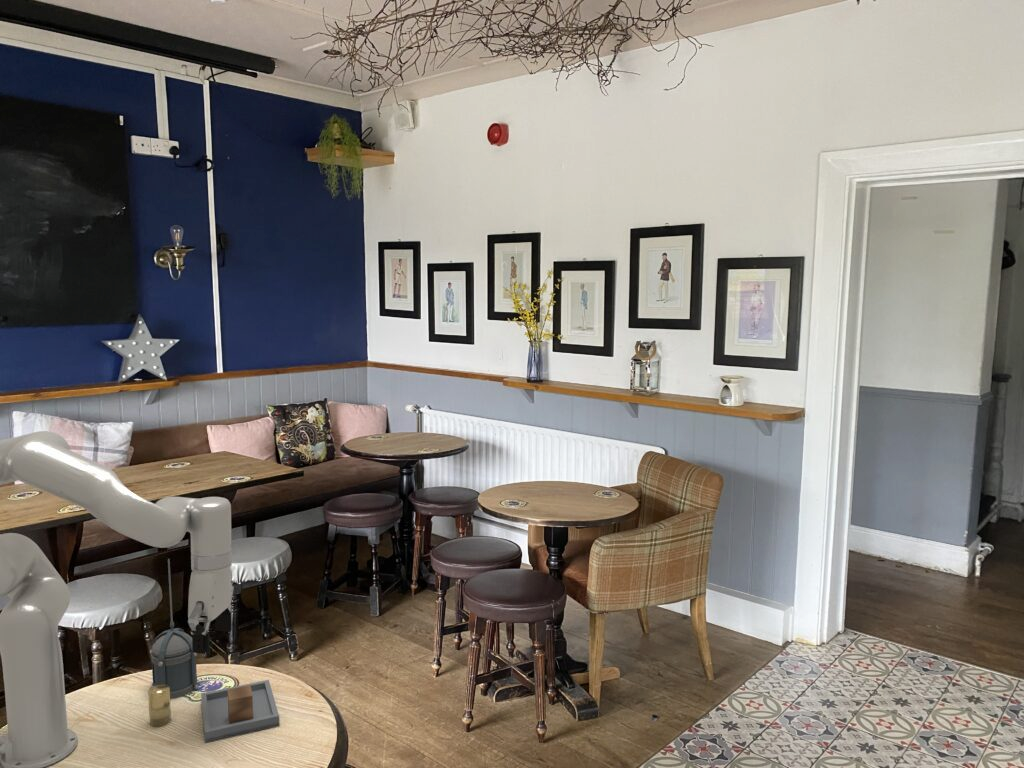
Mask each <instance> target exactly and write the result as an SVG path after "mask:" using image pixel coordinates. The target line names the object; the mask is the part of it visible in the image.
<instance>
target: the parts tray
mask: <svg viewBox="0 0 1024 768" xmlns="http://www.w3.org/2000/svg"><path fill="white" fill-rule="evenodd" d="M249 685H251V691H252V696H253V719H251V720H246V721H242V722H237V723H233V724H229V716H228V692H227V690H228V689H233V688H238V687H243V686H249ZM273 693H274V692H273V691H272V686H271V683H270V680H269V679H265V680H261V681H256V682H250V683H246V684H240V685H236V686H231V687H227V688H221V689H217V690H212V691H207V692H202V693H200V701H201V702H200V703H201V704H200V705H201V710H202V711H201V712H202V723H203V731H204V743H205V744H206V743H210V742H217V741H220V740H224V739H230V738H232V737H233V738H234V737H237V736H243V735H246V734H251V733H254V732H255V733H256V732H260V731H264V730H269V729H271V728H272V729H273V728H276V727H280V715H279V712H278V711H279V710H278V708H277V704H276V701H275V698H274V694H273Z"/></svg>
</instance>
